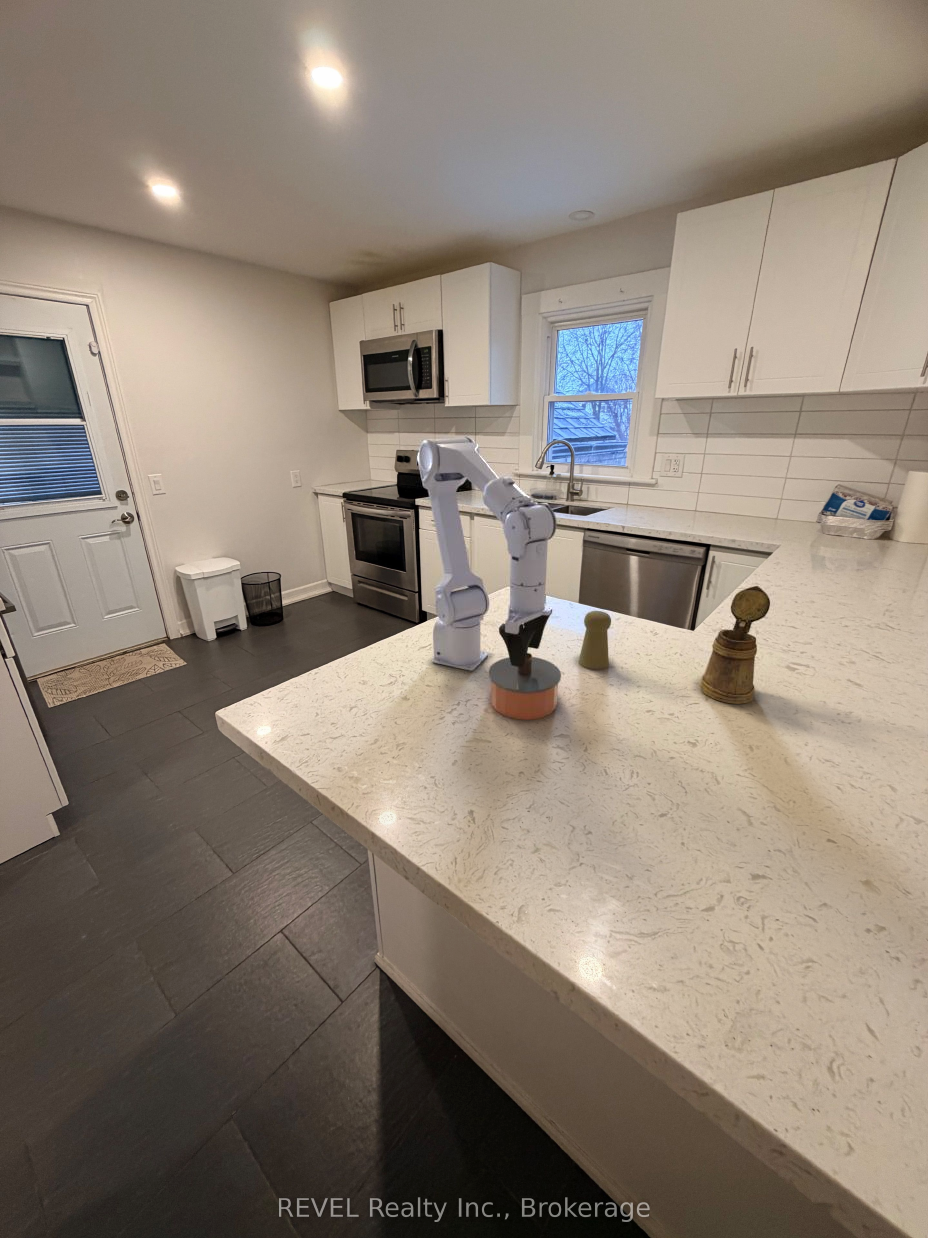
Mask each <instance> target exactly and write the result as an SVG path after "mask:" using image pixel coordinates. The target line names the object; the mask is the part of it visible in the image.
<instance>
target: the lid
mask: <svg viewBox="0 0 928 1238" xmlns="http://www.w3.org/2000/svg"><path fill="white" fill-rule="evenodd" d="M488 678H489V680H490V682H491V681H492V682H493V683H494V684H495V685H496V686H498V687H500V688H502V689H504V690H507V691H511V692H516V693H539V692H544V691H547V690H550V689H552V688H554V687H555V686H556V685H558V686H559V684H560V682H561V679H562V672H561V670H560V669H559V667H558V666H557V665H556V664H554V663H553V662H551V661H548V660H546V659H543V658H540V657H537V656H533V654H531V653H530V652H527V657H526V662H525V665H524V667H523V668H521V667H517V666H512V665H511V662H510V658H509V656H508V657H505V658H501V659H499V660H496V661H494V663H492V664H491V665H490V666H489V669H488Z"/></svg>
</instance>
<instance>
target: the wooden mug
mask: <svg viewBox="0 0 928 1238" xmlns="http://www.w3.org/2000/svg"><path fill="white" fill-rule="evenodd" d="M770 607H771V600H770V597H769V595H768V593H766V591H764V590H763V589H762V588H761V587H759V586H758V585H754V586H750V587H748V588H745V589H743V590H740V591H738V592H736V593H735V595H734V597H733V598H732V602H731V605H730V612H731V614H732V616H733V617H734V619H735V623H734V625H733V628H732V629H721V630H719V632H718V633H717V636H716V637H715V638H714V639H713V643H712V645H711V648H712V651H711V654H710V656H709V659H708V663H707V665H706V667H705V670H704V673H703V674H702V676H701V679H700V683H699V688H700V690H701V692H702V693H704V694H705V695H706V696H708V697H710V698H712V699H714V700H716V701H719V702H723V703H727V704H738V705H740V704H747V703H750V702H752V701H753V699H754V697H755V695H754V694H755V685H754V676H755V675H754V674H755V659H756V655H757V653H758V644H757V637H756V636H755V635H752V634H750V630H751V628H752V624H753V623H754V622H757V621H759V620H761V619H764V618H765V617H766V615H767V614H768V613H769V611H770Z"/></svg>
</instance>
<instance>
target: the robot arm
mask: <svg viewBox="0 0 928 1238" xmlns="http://www.w3.org/2000/svg"><path fill="white" fill-rule="evenodd" d="M417 464H418V468H419V474H420V479H421V482H422V487H423V488H424V489H426V490H427V493H428V499H429V502H430V507H431V512H432V517H433V522H434V527H435V533H436V538H437V542H438V547H439V553H440V557H441V562H442V568H443V573H444V576H443V578H442V579H440V581H439V582H438V584H437V585H436V586H435V588H434V596H435V602H434V608H435V613H436V615H437V619H436V621H435V623H434V625H433V629H432V646H433V659H431V661H432V662H431V663H435V664H439V665H444V666H448V667H451V668H452V667H453V668H458V669H462V670H466V671H469V672H470V671H474V670H475V669H476V668H477V667H478V666H479V665H480V664H481V663H482V662H483V661H484V660H485V659H486V658H487V657H488V656H489V653H488V652H486V651H481V647H482V646H481V643H482V642H481V639H482V637H481V635H482V634H481V621H484V617H485V616H484V615H486V614H487V613H488V612H489V610H490V609H489V608H490V597H489V594H488V592H487V590H486V588H485V585H484V580H483V579H482V578H481V577H480V576H478V575H476V574H475V573H473V572H472V571H471V567H470V561H469V557H468V556H469V555H468V552H467V551H468V550H467V547H466V541H465V535H464V531H463V530H464V529H463V525H462V519H461V515H460V509H459V505H458V498H457V490H458V488H459V487H460V486H462V485H463V484H464V483H465V482H466V481H467V480H468V481H469V482H470V483H471V484H472V485H473V486H474V487H476V488H477V489H478V490H479V491H480V492H481V493H482V501H483V504H484V505H485V506H486V507H487V508H488V510H489V511H490V512H491V513H492V514H493V515H494V516H495V517H496V518H497V519H498V520H499V521H500V522H501V524H502V529H503V534H504V537H505V539H506V542H507V551H508V554H509V555H510V570H509V571H510V577H509V578H510V579H509V584H510V585H509V586H510V587H509V604H508V609H507V610H508V611H507V619H506V620H505V621H504V623H503V622H502V624H501V625H499V627H498V634H499V635H500V636H501V638H502V640H503V643H504V644H505V647H506V650H507V653H508V657H509V658H510V662H511V665H512V666H517V667H521V668H523V667H524V665H525V662H526V657H527V653H528V650H529V648H530V649H536V650H538V649H539V648H540V645H541V641H542V638H543V635H544V631H545V628H546V625H547V622H548V620H549V618H550V617H551V615H552V613H553V608H552V607H549V606H546V603H547V593H546V585H547V584H546V581H547V564H548V544H549V540H551V539H552V538H553V537H554V536H555V535H556V532H557V526H558V525H557V523H558V522H557V516H556V514H555V512H554V510H553V509H552V507H551V506H550V505H549V504H548V503H546V502H540V503H539V502H537V501H533V500H532V498H531V497H530V496H529V495H527V494H525V492H524V491H523V490H521V489H520V488H519V487H518V485H516V484H515V482H516V480H514V479H513V477H507V476H501V477H498V475H497V474H496V473H495V472H494V471H493V469H492V468H491V467H490V465H488V463H487V462H486V461H485V460H484V459H483V457H482V456H481V454H480V447H479V444H478V443H477V442H475V440H473V438H472V437H470V436H464V437H452V438H451V437H450V438H449V437H448V438H435V439H434V438H425V439H423V441H421V444H420V446H419V450H418V453H417ZM460 588H461V589H460Z"/></svg>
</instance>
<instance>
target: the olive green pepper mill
mask: <svg viewBox="0 0 928 1238" xmlns="http://www.w3.org/2000/svg"><path fill="white" fill-rule="evenodd" d="M583 621H584V622H583V624H584V627H585V632H584V637H583V641H582V645H581V649H580V654H579V659H578V664H579V665H580V666H582V668H583V667H584V668H585V669H589V670H604V669H606V668H608V667H609V665H610V662H609V661H610V660H609V659H610V658H609V638H608V637H609V635H608V634H609V633H608V630H609V629H610V627H611V625H612V618H611V616H610V614H608V612H605V611H602V610H592V611H589V612H587V613H586V614H585V616H584V619H583Z"/></svg>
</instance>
